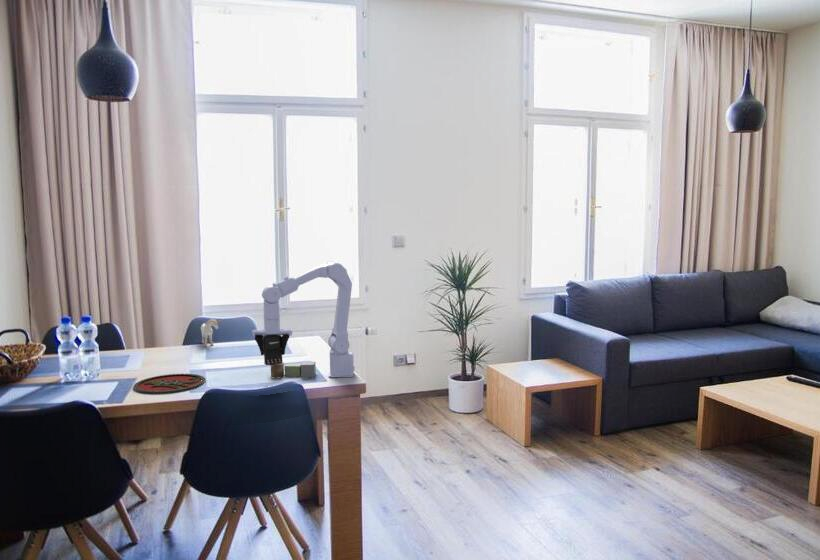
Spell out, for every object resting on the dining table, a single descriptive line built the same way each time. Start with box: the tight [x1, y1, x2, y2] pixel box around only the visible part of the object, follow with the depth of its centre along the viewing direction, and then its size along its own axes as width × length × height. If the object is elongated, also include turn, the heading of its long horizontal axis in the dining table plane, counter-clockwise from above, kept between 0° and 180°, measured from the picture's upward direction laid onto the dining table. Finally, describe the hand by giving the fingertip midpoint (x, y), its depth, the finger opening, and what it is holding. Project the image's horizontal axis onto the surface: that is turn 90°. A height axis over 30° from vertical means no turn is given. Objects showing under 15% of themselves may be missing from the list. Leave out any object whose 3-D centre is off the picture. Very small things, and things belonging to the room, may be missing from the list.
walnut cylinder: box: [270, 362, 285, 379], centre depth 240 cm, size 5×5×5 cm
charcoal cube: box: [300, 361, 317, 378], centre depth 240 cm, size 5×5×5 cm
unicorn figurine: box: [200, 318, 226, 347], centre depth 298 cm, size 7×20×13 cm, turn 46°
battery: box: [263, 335, 284, 366], centre depth 231 cm, size 7×4×11 cm, turn 115°
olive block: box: [284, 363, 302, 377], centre depth 242 cm, size 6×4×4 cm, turn 84°
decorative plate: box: [133, 373, 207, 395], centre depth 230 cm, size 25×1×25 cm
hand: (273, 354), depth 231 cm, fingers closed on battery, 7 cm apart
